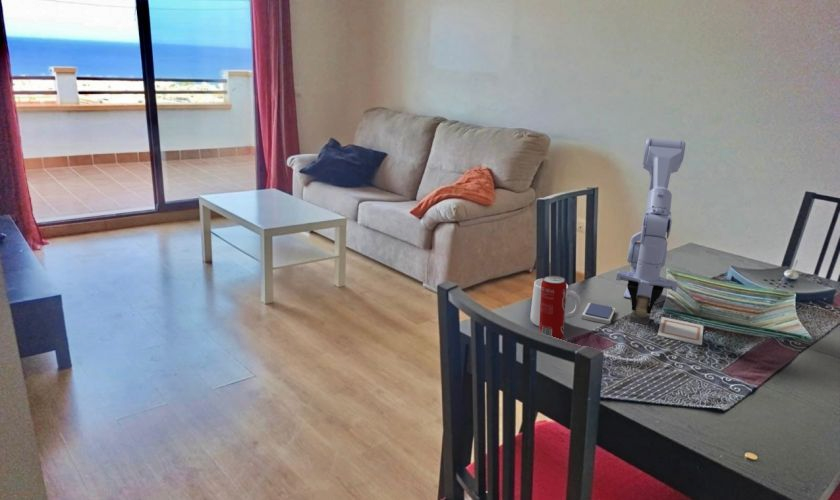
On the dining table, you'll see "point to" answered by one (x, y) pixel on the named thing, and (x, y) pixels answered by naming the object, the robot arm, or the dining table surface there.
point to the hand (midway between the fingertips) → (641, 310)
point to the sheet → (681, 331)
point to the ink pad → (598, 313)
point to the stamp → (641, 310)
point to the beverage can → (552, 306)
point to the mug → (537, 297)
